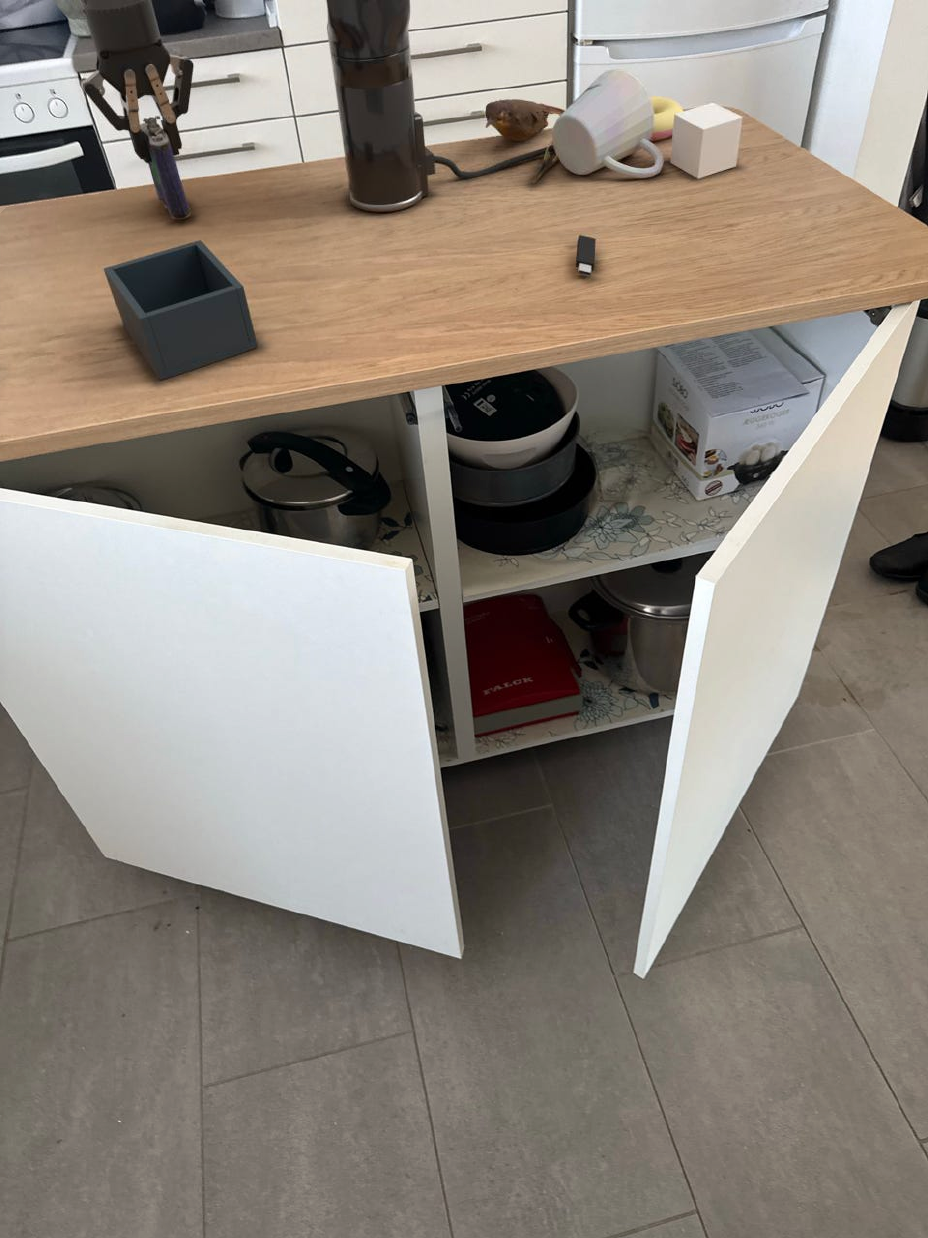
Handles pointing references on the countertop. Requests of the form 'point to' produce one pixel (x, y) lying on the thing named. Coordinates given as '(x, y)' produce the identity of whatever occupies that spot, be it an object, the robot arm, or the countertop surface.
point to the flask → (165, 169)
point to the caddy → (182, 308)
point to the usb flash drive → (585, 255)
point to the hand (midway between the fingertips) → (160, 156)
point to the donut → (664, 117)
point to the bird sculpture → (519, 117)
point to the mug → (607, 127)
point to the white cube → (705, 140)
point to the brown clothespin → (545, 168)
